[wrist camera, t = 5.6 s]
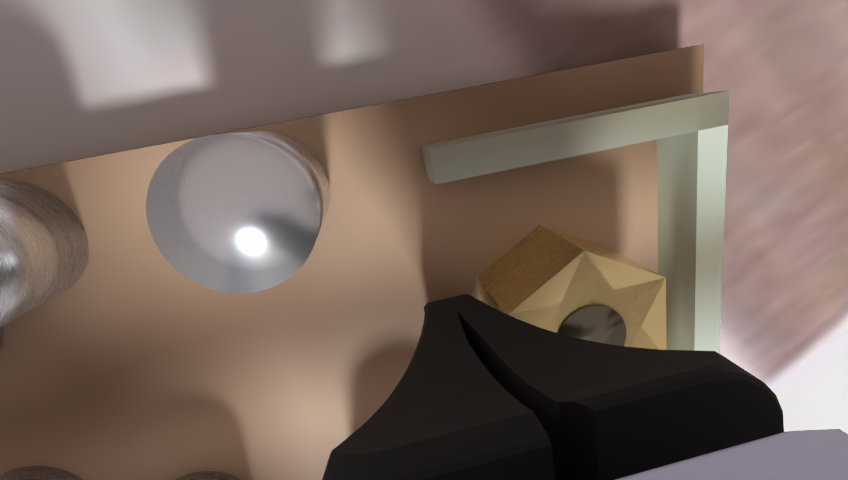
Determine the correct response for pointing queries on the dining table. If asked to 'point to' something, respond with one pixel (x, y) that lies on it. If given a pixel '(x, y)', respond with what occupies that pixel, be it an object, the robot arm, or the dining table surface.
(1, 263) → the spacers
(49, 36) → the dining table surface
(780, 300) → the dining table surface
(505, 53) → the dining table surface
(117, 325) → the tan tray
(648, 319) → the nut
